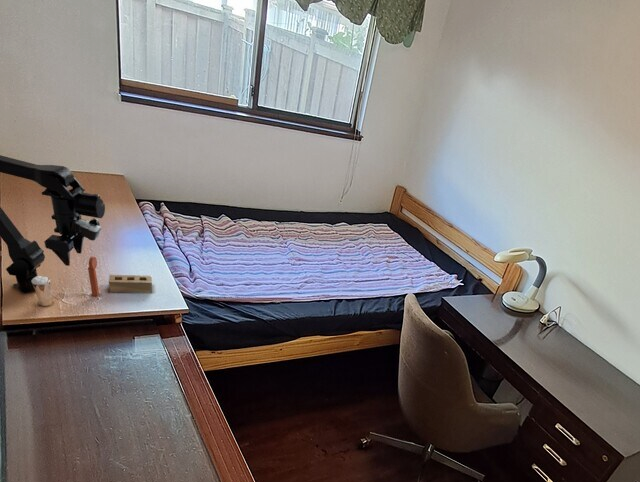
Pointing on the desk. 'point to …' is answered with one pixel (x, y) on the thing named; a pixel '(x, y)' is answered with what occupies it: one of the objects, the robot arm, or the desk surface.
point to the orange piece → (93, 276)
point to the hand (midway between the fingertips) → (73, 259)
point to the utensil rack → (130, 283)
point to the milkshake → (42, 290)
